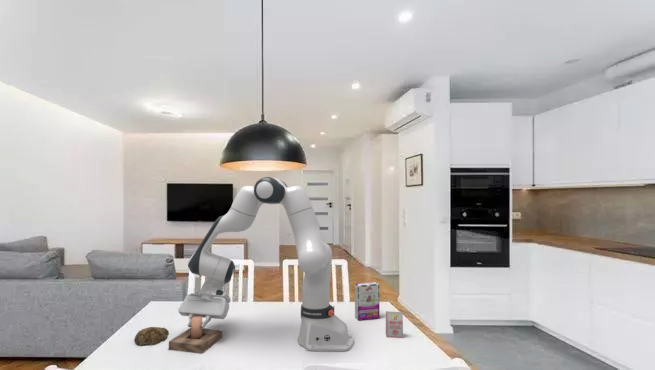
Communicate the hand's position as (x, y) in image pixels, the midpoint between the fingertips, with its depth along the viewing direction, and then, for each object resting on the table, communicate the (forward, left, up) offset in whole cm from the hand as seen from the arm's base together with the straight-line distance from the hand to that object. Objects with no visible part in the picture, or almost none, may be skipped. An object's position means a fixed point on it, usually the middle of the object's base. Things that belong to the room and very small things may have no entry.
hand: (195, 327), depth 131 cm
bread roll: (+20, 0, -7) cm, 21 cm away
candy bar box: (-63, -44, -7) cm, 77 cm away
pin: (0, -1, -5) cm, 5 cm away
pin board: (0, -1, -7) cm, 7 cm away
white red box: (-76, -26, -7) cm, 80 cm away
